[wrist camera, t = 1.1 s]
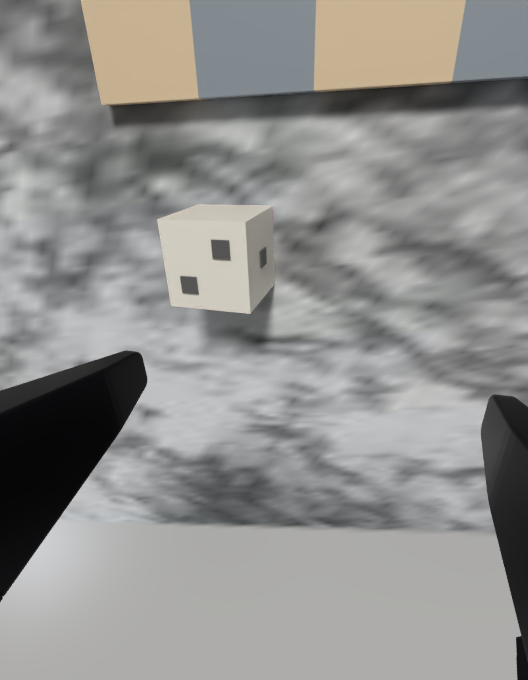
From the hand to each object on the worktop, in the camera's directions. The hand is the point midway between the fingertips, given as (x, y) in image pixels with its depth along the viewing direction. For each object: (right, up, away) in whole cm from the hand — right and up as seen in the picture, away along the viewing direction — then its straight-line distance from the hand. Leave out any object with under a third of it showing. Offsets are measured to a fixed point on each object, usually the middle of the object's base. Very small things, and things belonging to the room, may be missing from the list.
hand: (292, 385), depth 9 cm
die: (-2, +6, +11) cm, 12 cm away
